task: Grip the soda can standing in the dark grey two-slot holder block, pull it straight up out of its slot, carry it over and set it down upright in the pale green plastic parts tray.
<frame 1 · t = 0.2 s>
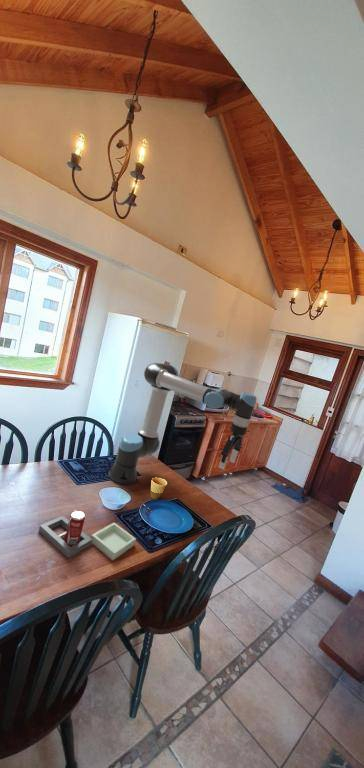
hand: (226, 465, 151), 28 cm above the table, fingers open, 13 cm apart
holder: (64, 538, 113), on the table
tray: (112, 543, 118), on the table
soda can: (70, 544, 112), resting in holder
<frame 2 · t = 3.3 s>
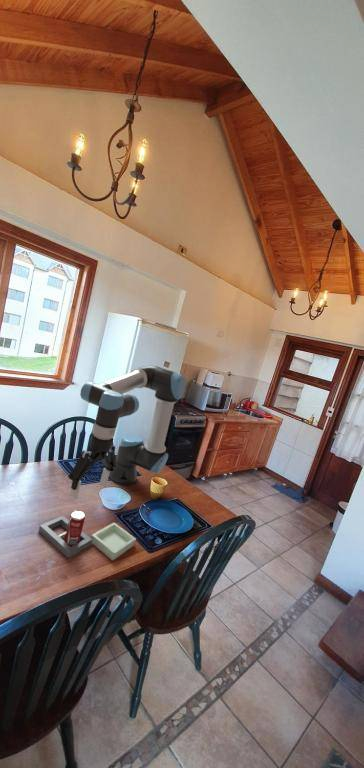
hand: (88, 491, 109), 21 cm above the table, fingers open, 13 cm apart
nothing on the table moved.
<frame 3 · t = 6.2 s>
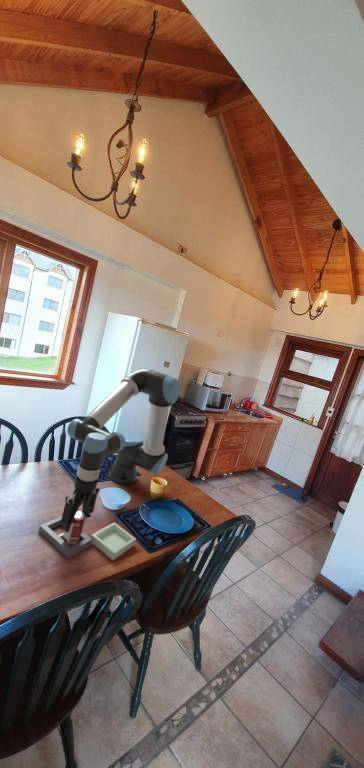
hand: (73, 534, 111), 4 cm above the table, fingers closed on soda can, 5 cm apart
soda can: (70, 544, 112), resting in holder, touching gripper
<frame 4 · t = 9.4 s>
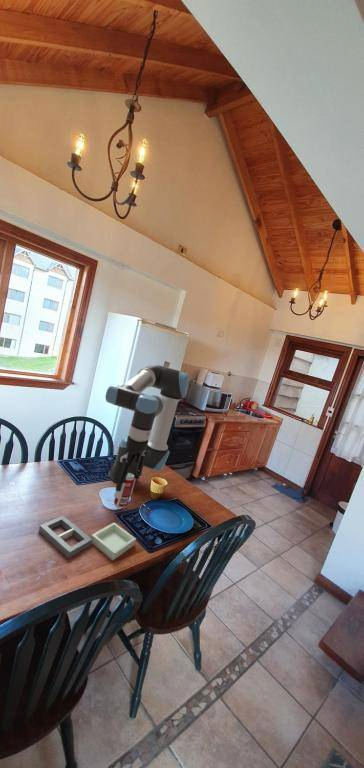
hand: (123, 495, 114), 20 cm above the table, fingers closed on soda can, 5 cm apart
soda can: (120, 504, 115), point 17 cm above the table, touching gripper
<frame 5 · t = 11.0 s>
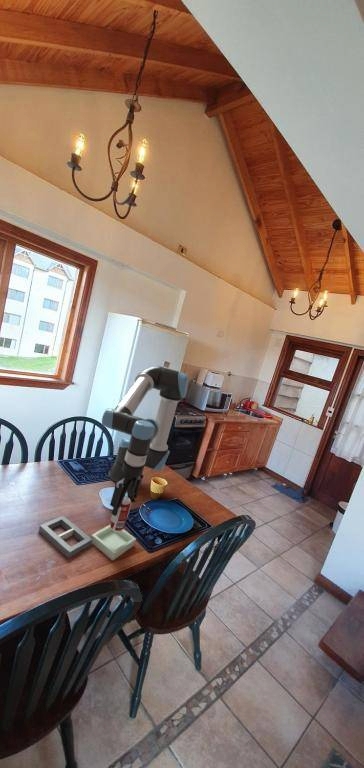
hand: (119, 518, 116), 11 cm above the table, fingers closed on soda can, 5 cm apart
soda can: (116, 528, 116), point 7 cm above the table, touching gripper
when the fingers open (6 cm above the table, at t = 12.4 s): soda can drops 2 cm, resting on tray.
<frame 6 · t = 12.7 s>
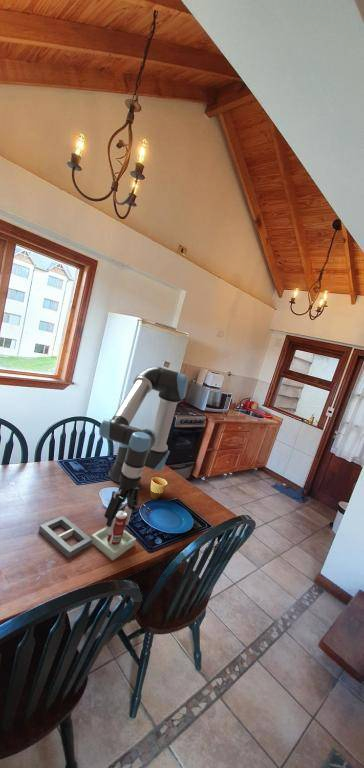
hand: (116, 527, 116), 7 cm above the table, fingers open, 8 cm apart
soda can: (113, 541, 118), resting on tray
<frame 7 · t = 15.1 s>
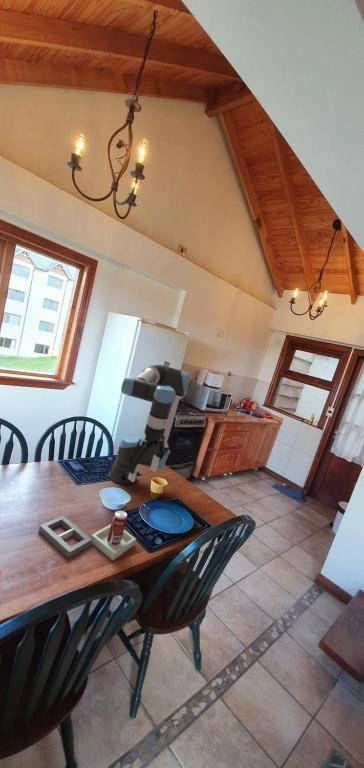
hand: (142, 475, 122), 26 cm above the table, fingers open, 13 cm apart
nothing on the table moved.
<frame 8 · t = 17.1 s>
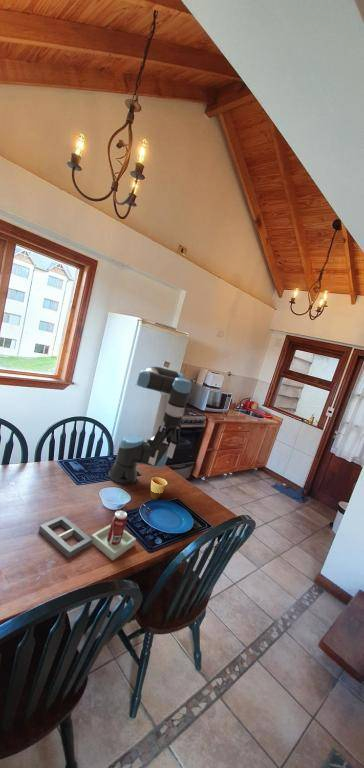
hand: (160, 460, 133), 29 cm above the table, fingers open, 13 cm apart
nothing on the table moved.
at the end: soda can inside the target area on the tray (0.4 cm from its centre), point 0.4 cm above the tray's base; soda can tilted 0°; the gripper is holding nothing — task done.
